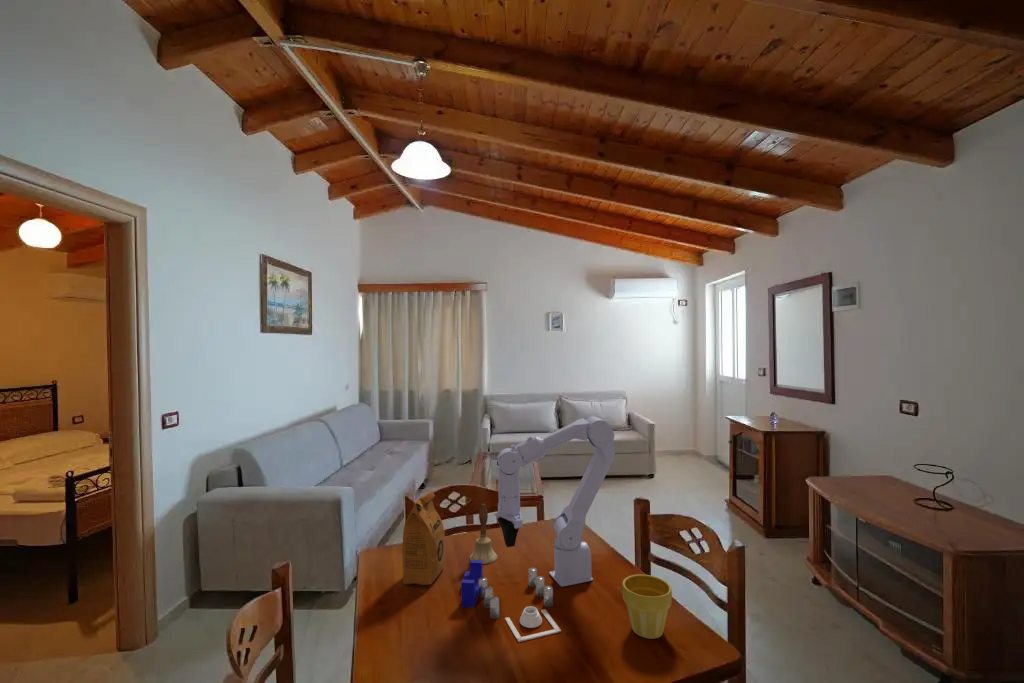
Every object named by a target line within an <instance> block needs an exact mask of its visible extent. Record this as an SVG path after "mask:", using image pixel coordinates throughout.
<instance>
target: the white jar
mask: <svg viewBox="0 0 1024 683" xmlns="http://www.w3.org/2000/svg"><path fill="white" fill-rule="evenodd" d="M520 615H521V616H520V617H519V624H521V626H523V627H525V628H528V629H533V628H534V629H535V628H538V627H539V626H541V625H542V623H543V618H542V616H541V614H540V612H539V610H538V608H537V607H535V606H533V605H532V606H525V608H524V609H523V611H522V613H521V614H520Z"/></svg>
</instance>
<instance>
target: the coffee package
mask: <svg viewBox="0 0 1024 683" xmlns="http://www.w3.org/2000/svg"><path fill="white" fill-rule="evenodd" d="M435 497H436V495H435V493H434V492H433V491H432V490H431V491H430V492H427V493H426V494H423V495H422V496H421V497H419V498H418V499H417V500H416V502H415V503H414V505H413V507H412V509H411V510H410V512H409V515H408V516H407V517H406V520H405V522H404V525H403V532H402V534H403V535H402V547H401V548H402V550H401V552H402V570H403V571H402V574H403V576H402V577H403V581H402V582H403V583H402V584H404V585H413V584H417V585H419V586H420V585H421V586H427V585H432V584H433V582H434V581H435V580H436V579H437V577H438V576H439V575H440V574H441V572H442V570H443V569H444V567H445V566H446V555H445V554H446V552H445V551H446V550H445V528H444V523H443V521H442V519H441V516H440V515H439V513H438V512H437V510H436V509H435V506H434V503H433V499H435Z"/></svg>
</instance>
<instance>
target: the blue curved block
mask: <svg viewBox="0 0 1024 683" xmlns="http://www.w3.org/2000/svg"><path fill="white" fill-rule="evenodd" d="M469 565H470V566H469V571H467V570H466V571H465V573H464V575H463V579H462V580H461V582H460V585H461V586H460V592H461V593H460V594H461V607H462V608H475V605H476V602H477V600H478V597H479V584H478V579H479V578H480V577H484V571H483V570H484V569H483V568H484V567H483V565H484V564H483V563H482V560H471V561H470V563H469Z"/></svg>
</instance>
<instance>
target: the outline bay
mask: <svg viewBox="0 0 1024 683" xmlns="http://www.w3.org/2000/svg"><path fill="white" fill-rule="evenodd" d="M540 612H541V613H542V614H543V616H544V617H545V619H546V620H547V621H548V623H549V624H550V625H551V627H552V629H550V630H549V629H548V630H545V631H541V632H537V633H533V634H529V635H525V636H521V634H520V633H519V631H518V630H517V628H516V626H515V625H514V623H513V621H512V620H511V618H510V616H508V617H504V620H505V623H506V624H507V625H508V627H509V629H510V630H511V632H512V634H513V635H514V637H515V638H516V641H517V642H518V643H520V642H521V643H522V642H525V641H528V640H529V641H530V640H533V639H538V638H541V637H546V636H550V635H554V634H558V633H559V634H560V633H562V630H561V628H560V626H558V624H557V623H556V621H554V619H553V618H552V616H551V615H550V614H549V612H548V611H547V609H543V608H542V609H541V610H540Z"/></svg>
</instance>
